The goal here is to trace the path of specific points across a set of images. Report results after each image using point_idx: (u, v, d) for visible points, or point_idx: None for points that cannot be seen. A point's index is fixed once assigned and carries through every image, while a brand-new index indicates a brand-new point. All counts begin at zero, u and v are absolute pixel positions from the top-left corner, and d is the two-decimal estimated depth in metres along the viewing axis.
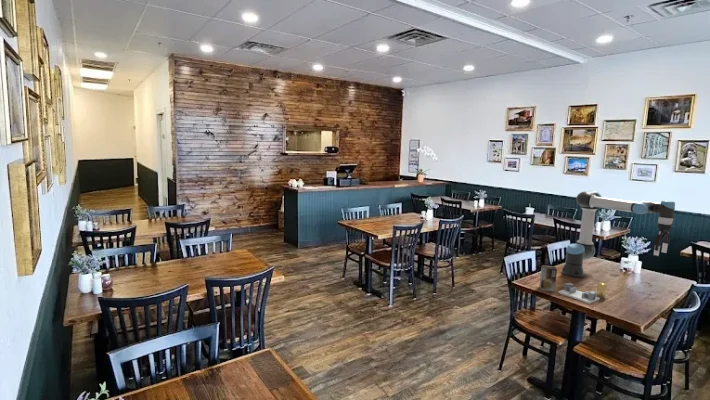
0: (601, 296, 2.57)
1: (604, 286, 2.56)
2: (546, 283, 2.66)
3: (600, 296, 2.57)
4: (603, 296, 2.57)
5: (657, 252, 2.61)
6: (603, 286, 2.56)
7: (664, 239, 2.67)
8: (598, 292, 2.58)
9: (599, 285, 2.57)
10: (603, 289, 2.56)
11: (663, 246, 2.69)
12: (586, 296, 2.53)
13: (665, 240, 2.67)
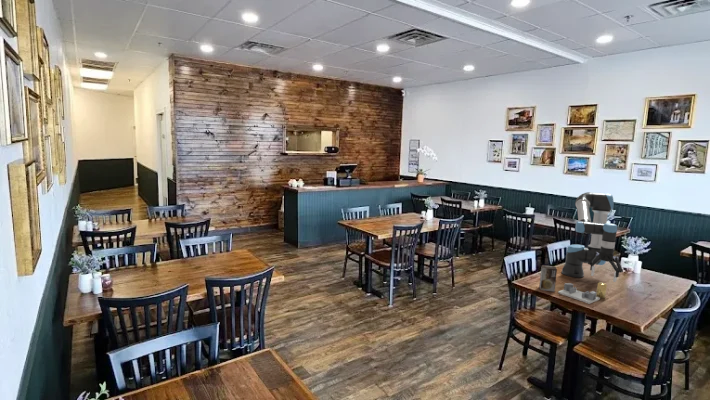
0: (601, 296, 2.57)
1: (604, 286, 2.56)
2: (546, 283, 2.66)
3: (600, 296, 2.57)
4: (603, 296, 2.57)
5: None
6: (603, 286, 2.56)
7: None
8: (598, 292, 2.58)
9: (599, 285, 2.57)
10: (603, 289, 2.56)
11: None
12: (586, 296, 2.53)
13: None
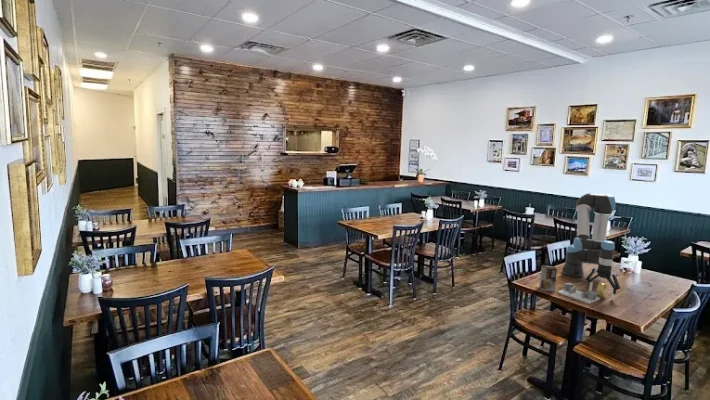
0: (601, 296, 2.57)
1: (604, 286, 2.56)
2: (546, 283, 2.66)
3: (600, 296, 2.57)
4: (603, 296, 2.57)
5: None
6: (603, 286, 2.56)
7: None
8: (598, 292, 2.58)
9: (599, 285, 2.57)
10: (603, 289, 2.56)
11: None
12: (586, 296, 2.53)
13: None
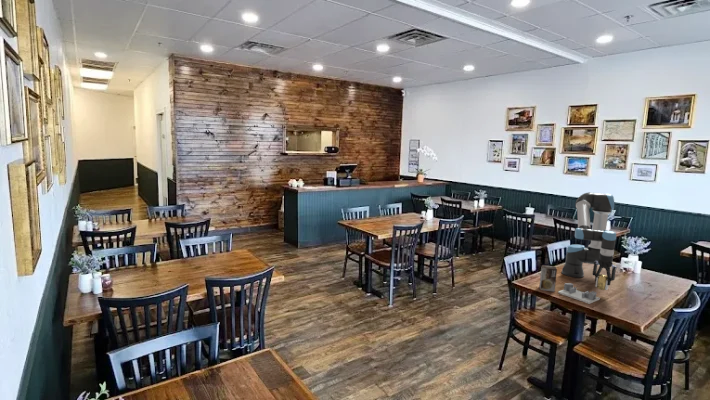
0: (602, 288, 2.57)
1: (605, 278, 2.55)
2: (546, 283, 2.66)
3: (601, 288, 2.57)
4: (604, 288, 2.57)
5: None
6: (604, 278, 2.55)
7: None
8: (599, 284, 2.58)
9: (600, 277, 2.57)
10: (604, 281, 2.56)
11: None
12: (586, 296, 2.53)
13: None
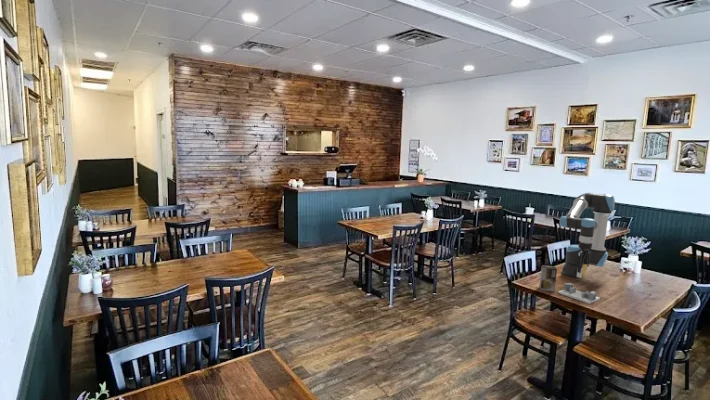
0: (585, 276, 2.55)
1: None
2: (546, 283, 2.66)
3: (585, 276, 2.55)
4: None
5: (580, 274, 2.54)
6: None
7: (584, 260, 2.56)
8: (585, 273, 2.54)
9: (585, 266, 2.53)
10: None
11: None
12: (586, 296, 2.53)
13: (585, 261, 2.56)
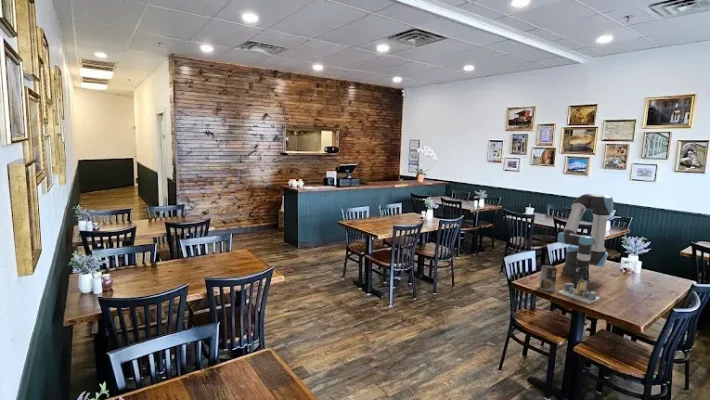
0: None
1: None
2: (546, 283, 2.66)
3: None
4: None
5: (576, 290, 2.54)
6: None
7: (583, 276, 2.59)
8: (582, 291, 2.56)
9: (583, 284, 2.55)
10: None
11: None
12: (586, 296, 2.53)
13: (584, 277, 2.59)
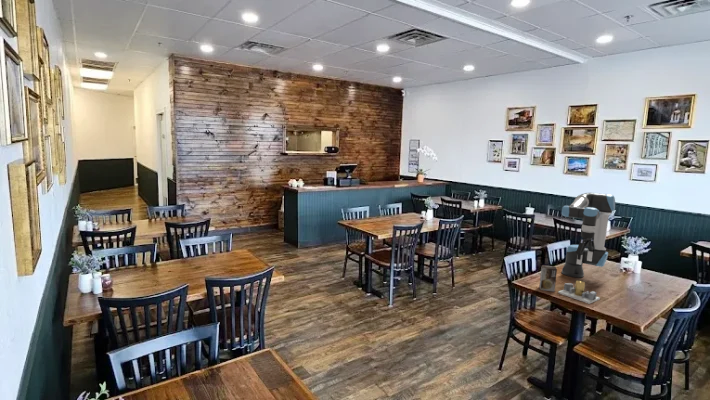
0: None
1: None
2: (546, 283, 2.66)
3: None
4: None
5: (580, 261, 2.52)
6: None
7: (589, 247, 2.58)
8: (582, 291, 2.56)
9: (583, 284, 2.55)
10: None
11: (588, 254, 2.60)
12: (586, 296, 2.53)
13: (590, 248, 2.58)
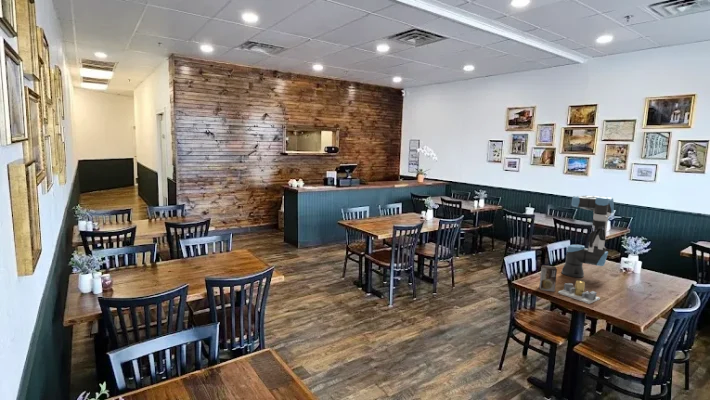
0: None
1: None
2: (546, 283, 2.66)
3: None
4: None
5: (591, 249, 2.60)
6: None
7: (600, 236, 2.67)
8: (582, 291, 2.56)
9: (583, 284, 2.55)
10: None
11: (599, 243, 2.69)
12: (586, 296, 2.53)
13: (601, 237, 2.67)
